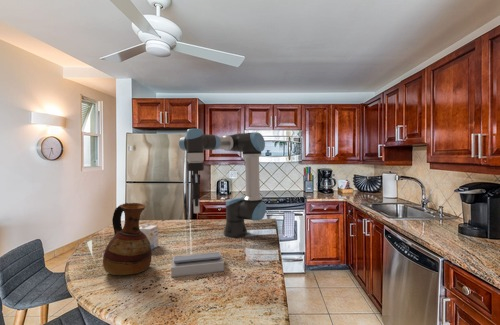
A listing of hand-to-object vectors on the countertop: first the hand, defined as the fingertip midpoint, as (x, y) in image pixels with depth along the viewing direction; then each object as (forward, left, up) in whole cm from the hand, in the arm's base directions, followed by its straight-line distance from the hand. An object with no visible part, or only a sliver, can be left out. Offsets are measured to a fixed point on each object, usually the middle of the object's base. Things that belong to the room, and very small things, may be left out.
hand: (196, 212), depth 126 cm
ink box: (+26, -31, -24) cm, 47 cm away
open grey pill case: (0, +5, -24) cm, 24 cm away
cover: (0, +5, -19) cm, 20 cm away
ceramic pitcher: (+30, 0, -24) cm, 39 cm away
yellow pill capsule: (0, +5, -22) cm, 23 cm away
